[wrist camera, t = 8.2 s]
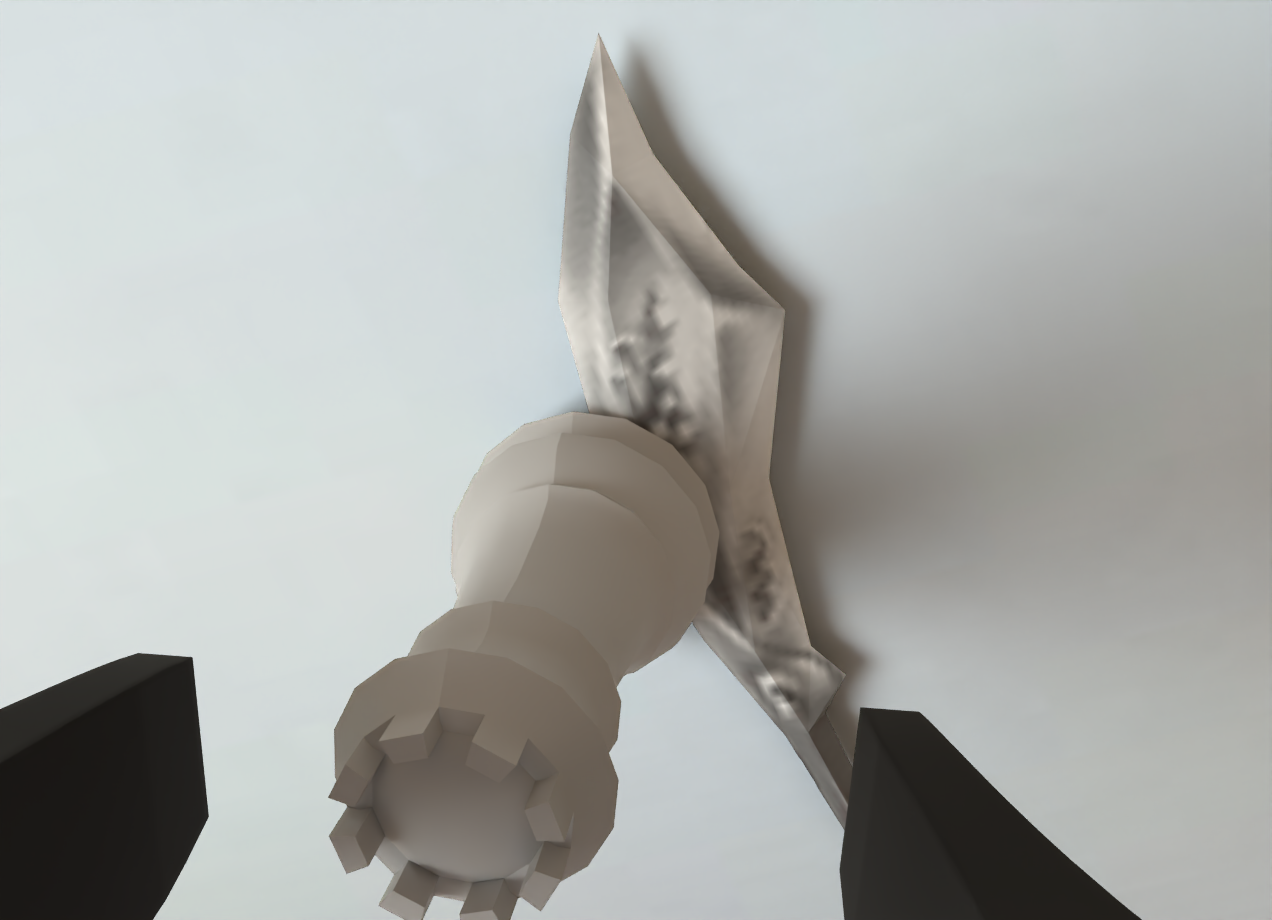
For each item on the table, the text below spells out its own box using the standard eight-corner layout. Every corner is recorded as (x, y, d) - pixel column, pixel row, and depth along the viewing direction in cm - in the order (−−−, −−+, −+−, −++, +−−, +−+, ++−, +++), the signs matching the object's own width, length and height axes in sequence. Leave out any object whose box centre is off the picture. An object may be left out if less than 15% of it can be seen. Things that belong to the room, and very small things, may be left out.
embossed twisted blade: (624, 19, 15) (364, 190, 16) (620, 14, 15) (351, 192, 16) (1361, 1350, 22) (1148, 1410, 24) (1378, 1382, 22) (1160, 1442, 23)
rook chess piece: (453, 410, 17) (190, 649, 10) (711, 395, 17) (638, 642, 9) (491, 638, 19) (288, 996, 11) (731, 635, 18) (680, 1016, 11)
